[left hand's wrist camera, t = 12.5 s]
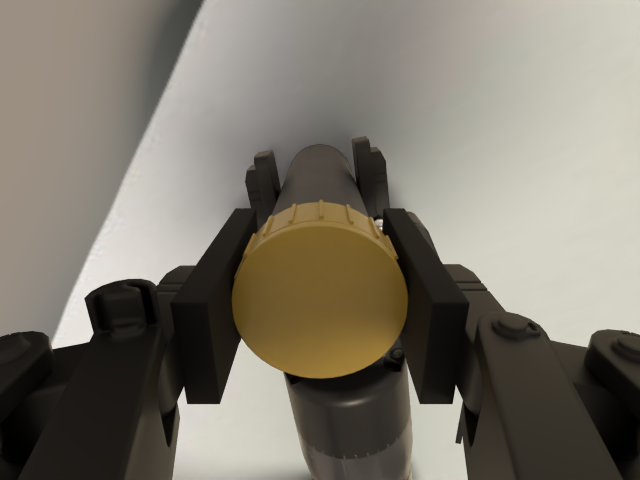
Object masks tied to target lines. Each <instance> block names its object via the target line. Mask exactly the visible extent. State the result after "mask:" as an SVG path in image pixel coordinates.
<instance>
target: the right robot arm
mask: <svg viewBox="0 0 640 480" xmlns="http://www.w3.org/2000/svg"><path fill="white" fill-rule="evenodd" d="M352 149H353V157H354V166H355V175H356V183H357V187H358V190H359V192H360V195H361V198H362V200H363V203H364V206H365V208H366V211H367V214H368V216H369V217H372V218H373V220H374V222H375V224H376V225H377V226H378V227H379V229H380V230H381V231H382V223H383V209H390V208H389V196H388V184H387V173H386V161H385V159H384V157H383V155H382V153H381V151H380V150H379V149H378V148H377V147H372V148H370V143H369V140H368V139H367V138H366V136H365V137H358V138H352ZM254 164H255V165H252V166H251V167H250V168H249V169H248V170H247V174H246V180H245V183H246V187H247V192H248V196H249V200H250V205H251V209H256V211H257V226H258V231H259V230H260V228H261V227H262V226H263V225H264V224H265V223H266V222H267V220H268V218H269V216H271V215H272V213H273V211H274V208H275V205H276V203H277V200H278V198H279V195H280V192H281V188H280V183H279V177H278V172H277V167H276V162H275V157H274V153H273V151H272V150H271V151H265V152H259V153H258V154H257V155H256V156H255V157H254ZM407 213H408V215H409V216H410V218H411V219H412V221H413V222H414V224H415V225H416V226H417V228H418V229H419V231H420V232H421V234H422V235H423V236H424V238H425V239H426V241H427V242H428V244H429V245H430V246H431V248H432V249H433V251H434V252H435V254H436V255H437V257H438V258H439V256H438V254H437V251H436V249H435V247H434V244H433V242H432V239H431V237H430V235H429V232H428V231H427V229H426V228H425V227H424V225H423V224H422V223H421V221H420V220H419V219H418V217H417V216H416V215H415V214H414V213H412V212H407ZM241 338H242V337H241ZM240 341H241V339H240ZM239 343H240V342H239ZM284 376H285V381H286V385H287V389H288V393H289V398H290V402H291V406H292V410H293V414H294V419H295V423H296V427H297V432H298V436H299V440H300V444H301V448H302V452H303V455H304V459H305V461H306V464H307V466H308V468H309V470H310V472H311V475H312V479H313V480H412V469H411V453H412V441H413V440H412V423H411V410H410V398H409V385H408V372H407V361H406V358H405V355H404V352H403V349H402V346H401V342H400V339H399V337H398V338H397V340H396V341H395V343H394V344H393V345H392V347H391V348H390V349H389V350H388V351H387V352H386V353H385V354H384V355H383V356H382V357H381V358H379V359H378V360H377V361H375V362H374V363H372V364H371V365H369V366H367V367H365V368H363V369H361V370H359V371H356V372H354V373H351V374H347V375H344V376H339V377H333V378H307V377H300V376H296V375H292V374H289V373H286V372H284Z"/></svg>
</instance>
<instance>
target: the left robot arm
mask: <svg viewBox="0 0 640 480" xmlns="http://www.w3.org/2000/svg"><path fill="white" fill-rule="evenodd" d="M257 232H258V226H257V211H256V209H235V210H234V212H233V213H232V215H231V216H230V217H229V219H228V220H227V222H226V223H225V225H224V226H223V227H222V229H221V230H220V232H219V233H218V235H217V236H216V238H215V239H214V240H213V242H212V243H211V245H210V246H209V248H208V249H207V250H206V252H205V253H204V255H203V256H202V258H201V259H200V260H199V262H198V263H197V265H196V266H179V267H177V268H175V269H174V270H172V271H170V272H168V273H167V274H166V275H165V276H164V277H163V279H162V280H161V281H160V282H159V285H157V286H156V285H155V284H154V283H152V282H151V281H148V280H143V279H126V280H121V281H115V282H112V283H109V284H106V285H103V286H101V287H99V288H97V289H95V290H93V291H92V292H90V293H89V294H88V295H87V296H86V297H85V298H84V299H85V302H86V306H87V310H88V313H89V317H90V321H91V325H92V328H93V332H94V334H93V336H92V338H91V340H90V342H87V343H83V344H78V345H73V346H68V347H62V348H57V349H52V346H51V343H50V340H49V337H48V336H47V335H45V334H44V333H42V332H35V331H29V332H17V333H12V334H11V335H9V334H8V335H5V336H2V337H0V480H172V476H173V468H174V460H175V452H176V445H177V437H178V429H179V421H180V415H179V409H178V403H177V400H178V398H179V396H180V394H181V391H182V389H183V387H184V388H185V393H186V399H187V404H220V402H221V399H222V395H223V392H224V389H225V386H226V383H227V380H228V376H229V373H230V370H231V367H232V364H233V361H234V358H235V354H236V351H237V348H238V345H239V342H240V339H241V336H240V334H239V332H238V330H237V327H236V325H235V322H234V318H233V309H232V288H233V284H234V276H235V274H236V272H237V270H238V268H239V265H240V263H241V261H242V259H243V257H244V256H243V254H244V252H245V249H246V247H247V245H248V243H249V241H250V239H251V236H252V235H253V233H255V234H256V233H257ZM382 232H383V234H384V235H385V236H387V235H388V237H389V238H390V241H391V243H392V245H393V247H394V249H395V251H396V254H397V256H398V259H396V260H397V262H398V264H399V267H400V269H401V271H402V273H403V276H404V278H405V282H406V285H407V290H408V307H407V316H406V321H405V324H404V327H403V329H402V331H401V333H400V335H399V339H400V342H401V346H402V349H403V352H404V355H405V358H406V361H407V365H408V368H409V371H410V374H411V377H412V380H413V384H414V387H415V390H416V393H417V396H418V399H419V403H420V404H453V398H454V392H455V386H457V388H458V390H459V392H460V394H461V397H462V399H463V403H462V409H461V414H460V420H459V425H458V431H457V436H456V443H459V444H461V440H462V436H463V444H464V452H465V459H466V467H467V475H468V480H640V335H638V334H635V333H632V332H631V333H630V332H628V331H623V330H620V331H619V330H609V329H607V330H600V331H597V332H595V333H594V334H593V335H592V336H591V339H590V342H589V345H588V348H587V347H581V346H576V345H571V344H566V343H560V342H556V341H551V340H550V339H549V337H548V335H547V333H546V332H545V331H544V330H543V329H542V327H541V326H540V325H538V324H537V323H535V322H534V321H532V320H531V319H529V318H526V317H523V316H521V315H518V314H514V313H510V312H506V311H505V310H504V309H503V307H502V306H501V305H500V304H499V303H498V301H497V300H496V299H495V298H494V297H493V295H492V294H491V293H490V292H489V291H487V288H486V287H485V286H484V285H483V283H481V281H480V280H479V279H478V277H477V276H476V275H475V274H474V273H473V272H472V271H470V270H469V269H467V268H465V267H463V266H462V265H460V264H442V262H441V261H440V259H439V258H438V257H437V255H436V254H435V252H434V251H433V249H432V248H431V246H430V245H429V244H428V242H427V241H426V239H425V238H424V236H423V235H422V234H421V232H420V231H419V229H418V228H417V226H416V225H415V224H414V222H413V221H412V219H411V218H410V216H409V215H408V213H407V212H406V211H405V209H383V223H382Z"/></svg>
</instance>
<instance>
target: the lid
mask: <svg viewBox="0 0 640 480" xmlns="http://www.w3.org/2000/svg"><path fill="white" fill-rule="evenodd" d="M243 256H244V257H243V259H242V261H241V263H240V265H239V268H238V270H237V272H236V274H235V276H234V284H233V288H232V309H233V318H234V322H235V325H236V327H237V330H238V332H239V334H240V336H241V337H242V339H243V340H244V342H245V343H246V345H247V346H248V347H249V348H250V349H251V350H252V351H253V352H254V353H255V354H256V355H257V356H258V357H259V358H260V359H262V360H263V361H265V362H266V363H268V364H269V365H271V366H273V367H275V368H277V369H279V370H281V371H283V372H286V373H289V374H292V375H296V376H300V377H307V378H333V377H339V376H344V375H347V374H351V373H354V372H356V371H359V370H361V369H363V368H365V367H367V366H369V365H371V364H372V363H374V362H375V361H377V360H378V359H379V358H381V357H382V356H383V355H384V354H385V353H386V352H387V351H388V350H389V349H390V348H391V347H392V345H393V344H394V343H395V341H396V340H397V338H398V337H399V335H400V333H401V331H402V329H403V327H404V324H405V321H406V316H407V307H408V290H407V285H406V282H405V278H404V276H403V273H402V271H401V269H400V267H399V264H398V262H397V260H396V259H398V256H397V254H396V251H395V249H394V247H393V245H392V243H391V241H390V238H389V237H388V235H387V236H385V235H384V234H383V232H382V231H381V230H380V229H379V227H378V226H377V225H376V224H375V222H374V220H373V218H372V217H369V218H368V217H366V216H365V215H363V214H362V213H360V212H358V211H356V210H354V209H352V208H351V207H350V205H348V204H346V206H343V205H340V204H335V203H329V202H323V200H319V202H312V203H305V204H300V205H296V203H295V204H292V207H291V208H288V209H286V210H284V211H282V212H280V213H278V214H276V215H275V216H274V217H273V216H272V215H271V216H269V218H268V220H267V222H266V223H265V224H264V225H263V226H262V227H261V228H260V230H259V231H258V232H257V233H256V234H255V233H253V235H252V236H251V239H250V241H249V243H248V245H247V247H246V249H245V252H244V254H243Z"/></svg>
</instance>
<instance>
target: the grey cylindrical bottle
mask: <svg viewBox="0 0 640 480" xmlns="http://www.w3.org/2000/svg"><path fill="white" fill-rule="evenodd" d="M319 200H323V202H329V203H335V204H340V205H343V206H346V204H348V205H350V207H351V208H352V209H354V210H356V211H358V212H360V213H362V214H363V215H365V216H366V217H368V218H369V216H368V214H367V211H366V208H365V206H364V203H363V200H362V198H361V195H360V192H359V190H358V187H357V184H356V182H355V179H354V177H353V174H352V171H351V169H350V166H349V163H348V161H347V159H346V158H345V156H344V155H343V154H342V153H341V152H340V151H338V150H337V149H335V148H333V147H331V146H328V145H313V146H309V147H307V148H305V149H303V150H302V151H300V152H299V153H298V154H297V155H296V157H295V158H294V160H293V161H292V164H291V166H290V169H289V171H288V174H287V177H286V179H285V182H284V184H283V187H282V190H281V192H280V195H279V198H278V200H277V203H276V205H275V208H274V211H273V213H272V216H273V217H274V216H275V215H276V214H278V213H280V212H282V211H284V210H286V209H288V208H291V207H292V204H295V203H296V205H300V204H305V203H312V202H319Z"/></svg>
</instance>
